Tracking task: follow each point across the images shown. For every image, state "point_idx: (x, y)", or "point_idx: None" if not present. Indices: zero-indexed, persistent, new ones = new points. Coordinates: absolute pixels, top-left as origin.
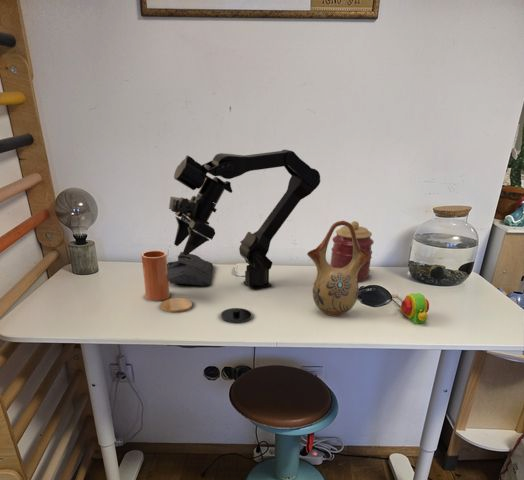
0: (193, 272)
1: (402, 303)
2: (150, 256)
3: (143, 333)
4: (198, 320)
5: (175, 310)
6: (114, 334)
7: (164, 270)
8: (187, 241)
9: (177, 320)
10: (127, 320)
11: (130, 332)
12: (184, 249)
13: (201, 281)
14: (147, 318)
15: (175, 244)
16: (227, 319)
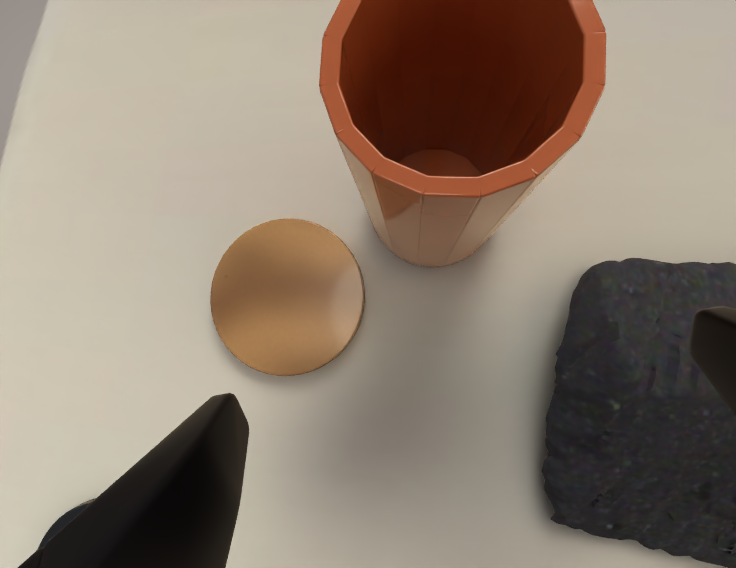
0: (686, 448)
1: None
2: (551, 49)
3: (47, 149)
4: (111, 384)
5: (212, 286)
6: (66, 42)
7: (375, 209)
8: (61, 562)
9: (131, 289)
10: (178, 79)
11: (68, 99)
12: (181, 433)
13: (563, 478)
14: (179, 160)
15: (700, 325)
16: (55, 522)
